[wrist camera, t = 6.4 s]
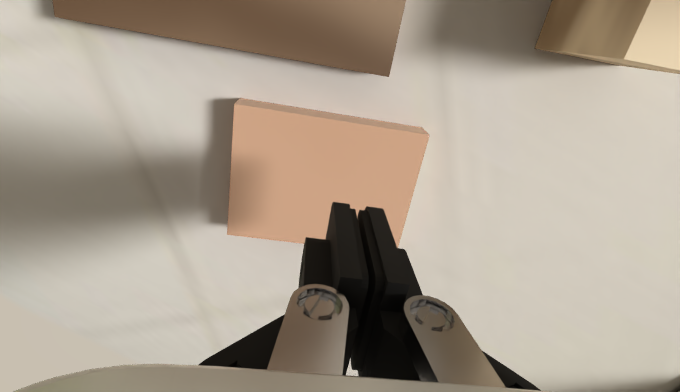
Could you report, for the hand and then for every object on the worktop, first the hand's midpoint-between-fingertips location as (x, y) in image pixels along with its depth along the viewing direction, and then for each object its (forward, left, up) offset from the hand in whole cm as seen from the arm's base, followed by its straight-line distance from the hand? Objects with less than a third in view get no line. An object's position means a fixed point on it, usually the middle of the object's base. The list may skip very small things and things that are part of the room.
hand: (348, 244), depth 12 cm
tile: (0, -3, -5) cm, 6 cm away
